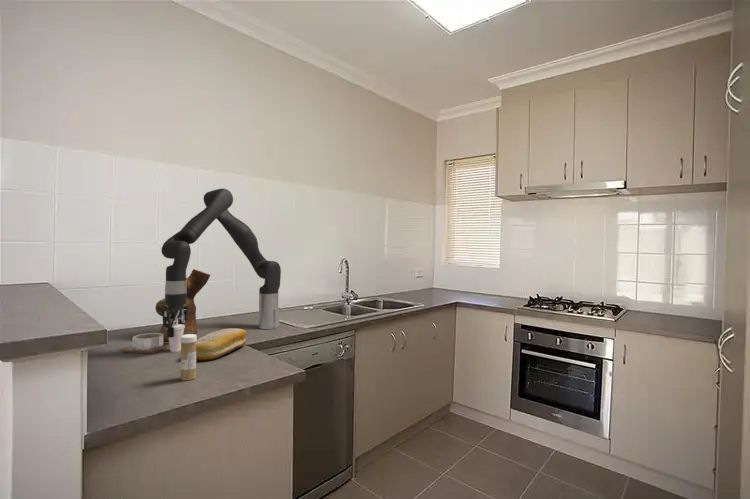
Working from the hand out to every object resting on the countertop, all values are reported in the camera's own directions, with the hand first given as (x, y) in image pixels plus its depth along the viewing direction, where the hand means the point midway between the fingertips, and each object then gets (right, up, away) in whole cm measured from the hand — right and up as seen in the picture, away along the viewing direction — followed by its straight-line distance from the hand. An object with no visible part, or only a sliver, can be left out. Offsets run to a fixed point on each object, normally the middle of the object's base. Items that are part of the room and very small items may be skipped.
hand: (175, 335), depth 150 cm
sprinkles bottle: (+19, -7, -30) cm, 36 cm away
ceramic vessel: (-8, -6, +22) cm, 24 cm away
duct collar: (-12, -6, +2) cm, 14 cm away
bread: (+17, -7, -1) cm, 19 cm away
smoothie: (0, -6, 0) cm, 6 cm away
